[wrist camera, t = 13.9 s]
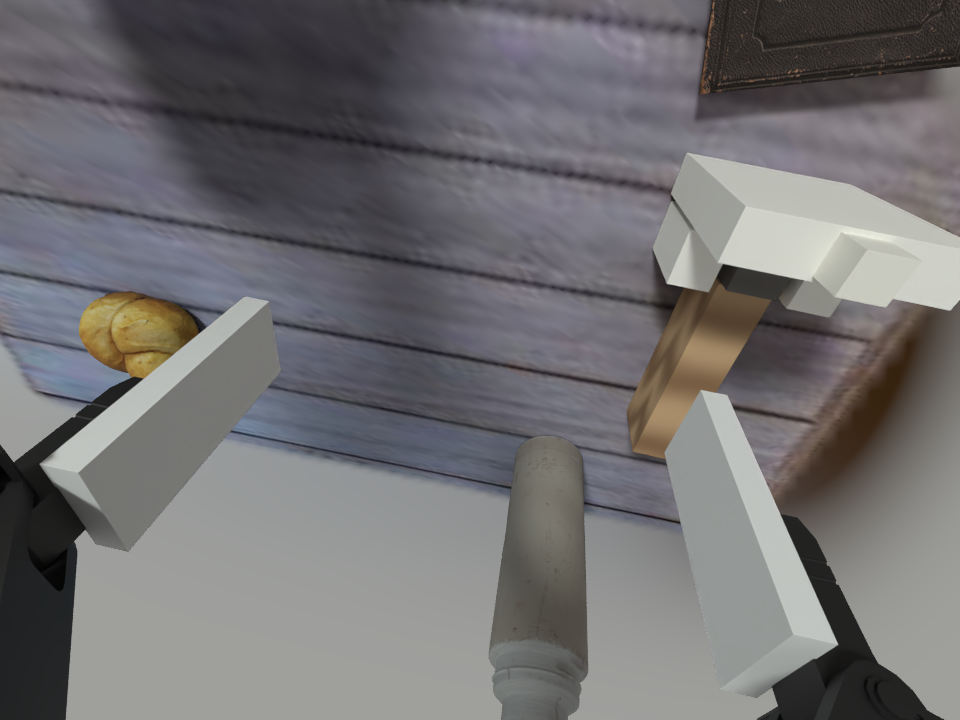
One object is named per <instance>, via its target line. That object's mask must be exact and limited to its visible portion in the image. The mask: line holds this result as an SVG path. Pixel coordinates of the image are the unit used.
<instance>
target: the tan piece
mask: <svg viewBox="0 0 960 720" xmlns="http://www.w3.org/2000/svg"><path fill="white" fill-rule="evenodd" d="M789 279H790V277H785V276H780V275H775V274H770V273H766V272H761V271H756V270H751V269H746V268H741V267H736V266H732V265H727V264H723V265H722V267H721V269H720V271H719V273H718V275H717V277H716V279H715V281H714V283H713V285H712V287H711V289H710V291H709V292H704V291H700V290H695V289H690V288H685V287H684V289H683V291H682V293H681V295H680V297H679V299H678V302H677V304H676V306H675V308H674V310H673V312H672V314H671V317H670V319H669V321H668V323H667V325H666V327H665V330H664V332H663V334H662V336H661V338H660V340H659V342H658V345H657V347H656V349H655V351H654V353H653V355H652V357H651V360H650V362H649V364H648V366H647V368H646V370H645V373H644V375H643V377H642V379H641V381H640V383H639V385H638V388H637V390H636V392H635V394H634V396H633V398H632V400H631V403H630V405H629V407H628V409H627V416H628V423H629V430H630V436H631V443H632V450H633V452H637V453H641V454H645V455H650V456H654V457H658V458H663V459H666V457H665V453H664V452H665V451H666V449H667V447H668V445H669V444H670V442H671V440H672V438H673V437H674V435H675V433H676V432H677V430H678V428H679V426H680V425H681V423H682V421H683V420H684V418H685V416H686V414H687V413H688V411H689V409H690V408H691V406H692V404H693V402H694V401H695V399H696V397H697V395H698V394H699V392H700V390H704V391H709V392H714V393H716V391H717V390H718V388H719V386H720V385H721V383H722V381H723V380H724V378H725V376H726V375H727V373H728V371H729V370H730V368H731V367H732V365H733V363H734V362H735V360H736V358H737V357H738V355H739V353H740V352H741V350H742V348H743V347H744V345H745V343H746V342H747V340H748V338H749V337H750V335H751V334H752V332H753V330H754V329H755V327H756V325H757V324H758V322H759V320H760V319H761V317H762V315H763V314H764V312H765V310H766V309H767V307H768V305H769V304H770V302H771V300H773V301H776V300H777V299H778V297H779V296H780V294H781V292H782V291H783V289H784V287H785V286H786V284H787V283H788V281H789Z"/></svg>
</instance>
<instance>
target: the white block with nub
mask: <svg viewBox="0 0 960 720" xmlns="http://www.w3.org/2000/svg"><path fill="white" fill-rule="evenodd" d="M671 195H672V196H673V198H674V199H675V201H671V203H670V205H669V208H668V210H667V213H666V216H665V218H664V221H663V223H662V226H661V228H660V231H659V233H658V236H657V238H656V241H655V243H654V246H653V251H654V253H655V256H656V258H657V261H658V263H659V266H660V268H661V271H662V273H663V276H664V278H665V281H666V283H667V284H671V285H676V286H680V287H685V288H690V289H695V290H700V291H704V292H709V291H710V289H711V287H712V285H713V283H714V281H715V279H716V277H717V275H718V273H719V271H720V269H721V267H722V265H723V264H727V265H732V266H736V267H741V268H746V269H751V270H756V271H761V272H766V273H770V274H775V275H780V276H785V277H790V279H789V281H788V283H787V284H786V286H785V287H784V289H783V291H782V292H781V294H780V296H779V297H778V299H779V300H780V301H781V303H782V304H783V305H784V306H785V308H786V309H790V310H795V311H800V312H805V313H810V314H814V315H819V316H824V317H829V318H830V316H831V315H832V313H833V312H834V311H835V309H836V308H837V306H838V305H839V304H840V302H841V301H842V299H847V300H851V301H856V302H861V303H866V304H871V305H876V306H880V307H885V308H886V307H887V305H888V304H889V303H890V302H891V300H892V299H897V300H902V301H907V302H912V303H916V304H921V305H926V306H931V307H936V308H941V309H946V310H951V309H952V308H953V307H954V305H955V304H956V303H957V302H958V301H959V300H960V237H957V236H955V235H953V234H951V233H949V232H947V231H945V230H943V229H941V228H939V227H937V226H935V225H933V224H931V223H929V222H927V221H925V220H923V219H921V218H918V217H916V216H914V215H912V214H910V213H908V212H906V211H904V210H902V209H900V208H898V207H896V206H894V205H892V204H890V203H888V202H886V201H884V200H881V199H879V198H877V197H875V196H873V195H871V194H869V193H867V192H865V191H863V190H861V189H859V188H857V187H855V186H853V185H851V184H846V183H841V182H835V181H830V180H825V179H820V178H815V177H810V176H804V175H799V174H794V173H789V172H784V171H779V170H773V169H768V168H763V167H758V166H753V165H748V164H743V163H737V162H732V161H727V160H722V159H717V158H712V157H706V156H701V155H696V154H691V153H686V156H685V159H684V161H683V164H682V166H681V169H680V171H679V174H678V176H677V179H676V181H675V184H674V187H673V189H672V192H671Z"/></svg>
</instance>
